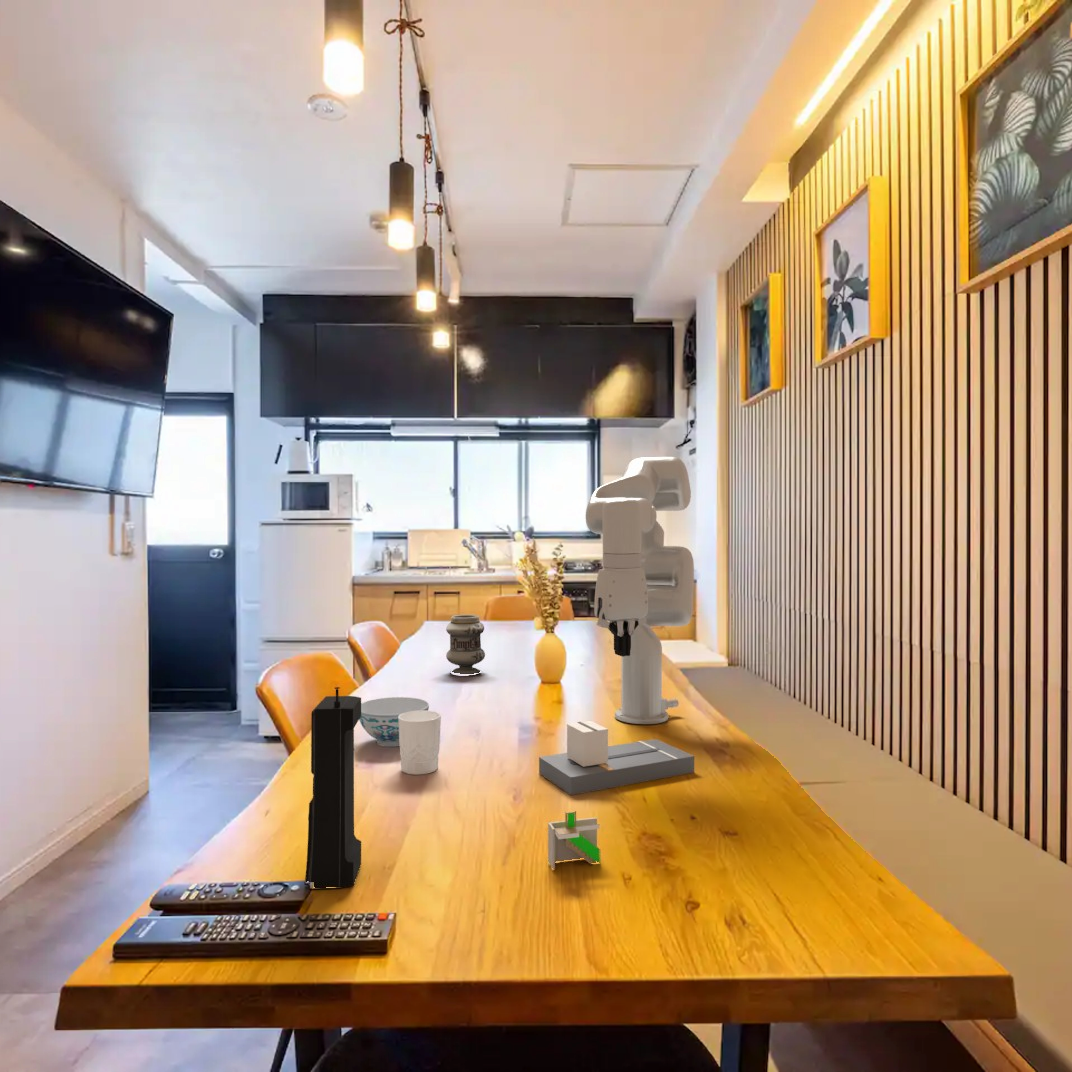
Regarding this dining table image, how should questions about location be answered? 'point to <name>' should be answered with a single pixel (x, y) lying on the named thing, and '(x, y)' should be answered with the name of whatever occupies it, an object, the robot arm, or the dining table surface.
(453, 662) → the apothecary jar
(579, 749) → the fader tab
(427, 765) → the white cup
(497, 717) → the dining table surface
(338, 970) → the dining table surface
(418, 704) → the chinaware
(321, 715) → the portable radio
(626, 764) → the board
